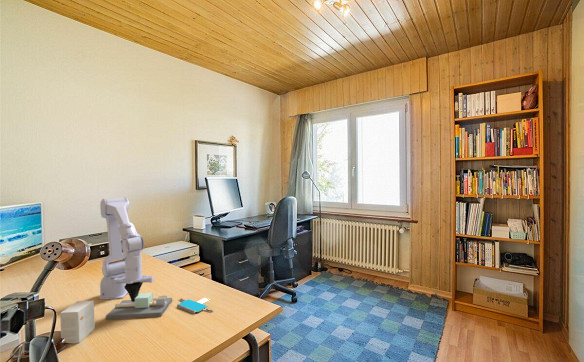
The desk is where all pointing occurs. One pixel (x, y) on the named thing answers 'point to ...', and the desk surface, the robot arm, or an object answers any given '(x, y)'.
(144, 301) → the sleeve
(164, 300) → the block
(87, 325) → the small box
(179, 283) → the desk surface
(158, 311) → the board
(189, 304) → the blue flat gadget
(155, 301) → the wooden dowel
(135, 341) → the desk surface
